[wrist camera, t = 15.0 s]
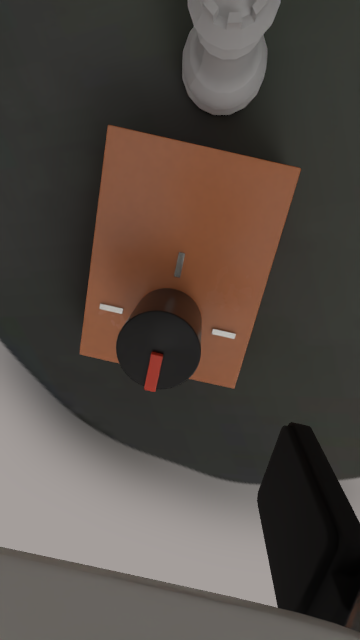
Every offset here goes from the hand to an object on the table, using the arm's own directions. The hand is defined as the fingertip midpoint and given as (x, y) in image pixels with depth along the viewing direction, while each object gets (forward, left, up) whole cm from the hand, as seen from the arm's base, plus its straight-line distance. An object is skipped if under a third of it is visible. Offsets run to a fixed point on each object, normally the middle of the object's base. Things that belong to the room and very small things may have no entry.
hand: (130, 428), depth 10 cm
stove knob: (0, 0, -10) cm, 10 cm away
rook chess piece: (-14, 0, -13) cm, 19 cm away
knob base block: (-3, 0, -13) cm, 13 cm away
